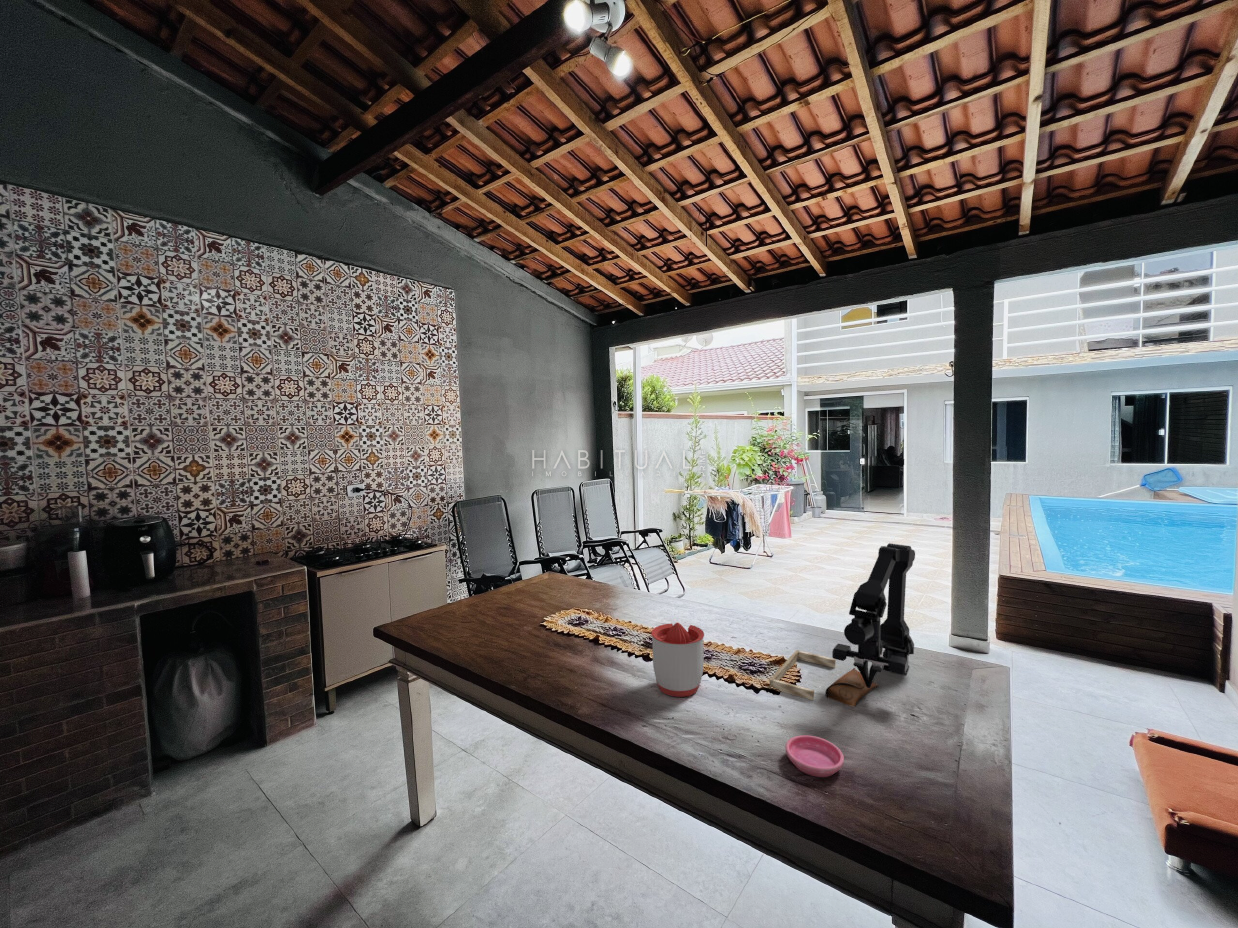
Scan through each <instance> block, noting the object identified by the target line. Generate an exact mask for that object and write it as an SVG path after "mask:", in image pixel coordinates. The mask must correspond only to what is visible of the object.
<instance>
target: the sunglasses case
mask: <svg viewBox="0 0 1238 928" xmlns="http://www.w3.org/2000/svg"><path fill="white" fill-rule="evenodd" d="M878 687H879V684H877V683H875V682H874V681H873V682H872V685H871V687H870V688H867V686H866V684H865V682H864V679H863V677H862V675H861V673H860V672H859V670H858V669H856V667H853V668H851V670H849V671H847V672H845V673H844V674H843V675H842V676H840V677H839V678H838V679H837V680H835V681H834V682H833V683H832V684H830V685H828V687H827V688H826V689H825V692H824V693H825V697H826V698H828V699H830V700H832V701H835V702H839V703H841V704H844V705H847V706H850V707H853V708H854V707H857V704H858V703H859V702H860V701H861V700H863V698H864V697H865V696H867V695H868V694H870V693H871V691H873V690H875V689H876V688H878Z"/></svg>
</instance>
